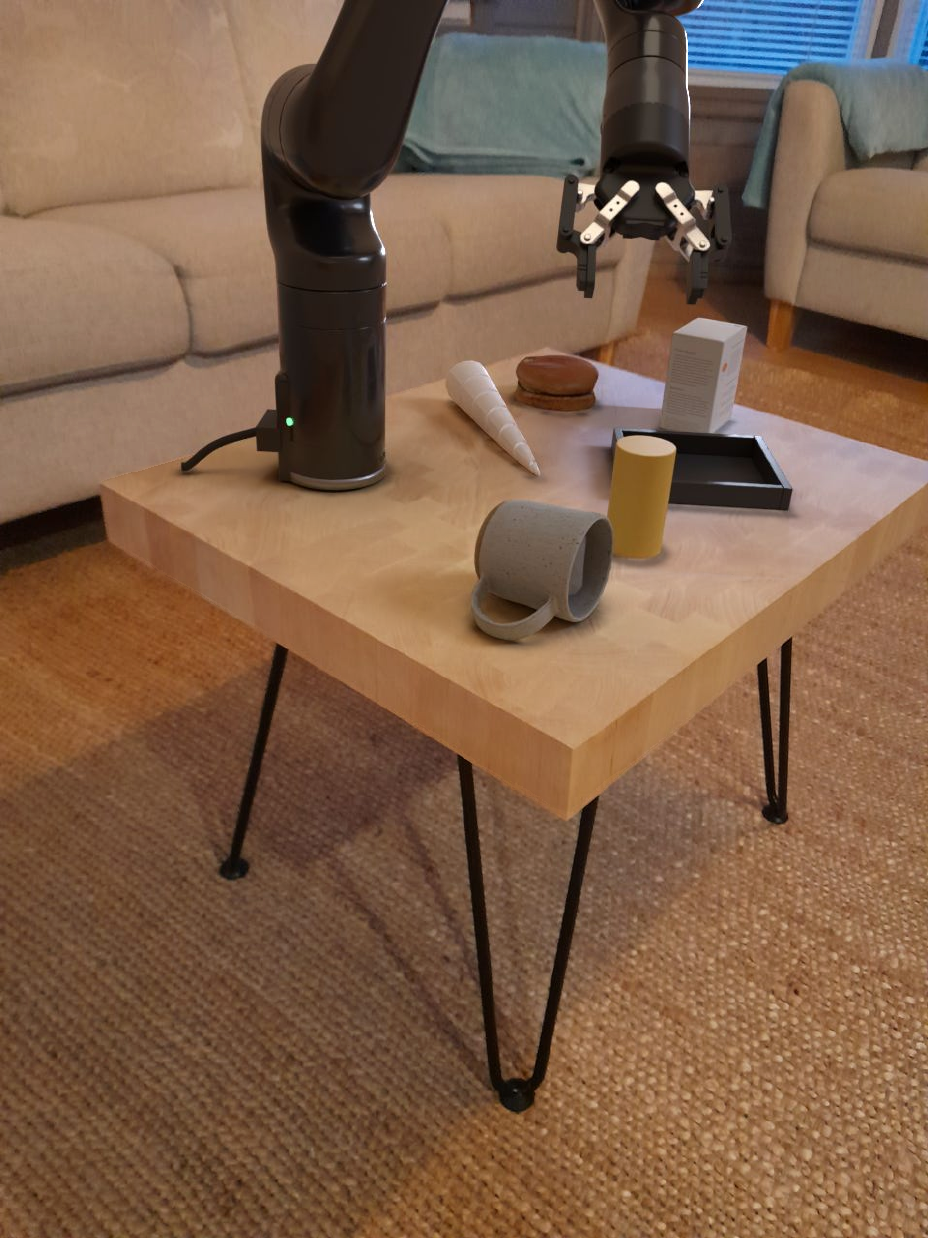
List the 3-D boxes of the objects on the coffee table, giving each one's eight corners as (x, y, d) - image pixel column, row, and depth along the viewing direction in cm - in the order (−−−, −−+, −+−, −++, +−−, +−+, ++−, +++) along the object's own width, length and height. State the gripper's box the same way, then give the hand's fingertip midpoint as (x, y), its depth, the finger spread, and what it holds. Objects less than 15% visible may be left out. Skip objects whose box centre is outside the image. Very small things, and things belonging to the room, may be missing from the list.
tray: (622, 505, 92) (625, 479, 91) (610, 451, 104) (613, 427, 103) (787, 515, 92) (793, 488, 91) (756, 459, 104) (761, 435, 103)
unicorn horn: (499, 482, 96) (502, 432, 93) (443, 401, 116) (445, 358, 113) (548, 480, 97) (553, 430, 94) (484, 400, 117) (487, 358, 114)
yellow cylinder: (605, 561, 83) (618, 454, 78) (601, 537, 87) (613, 433, 82) (663, 565, 82) (680, 457, 78) (656, 540, 86) (672, 436, 82)
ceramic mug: (513, 567, 81) (519, 474, 77) (610, 596, 77) (622, 501, 73) (441, 625, 73) (444, 525, 69) (546, 661, 69) (554, 558, 65)
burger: (599, 417, 113) (603, 374, 111) (513, 412, 113) (516, 370, 111) (593, 389, 122) (597, 350, 120) (514, 385, 122) (516, 345, 120)
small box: (683, 411, 116) (697, 316, 111) (731, 421, 114) (748, 324, 109) (656, 431, 110) (670, 330, 105) (707, 442, 108) (724, 340, 103)
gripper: (566, 93, 86) (558, 264, 82) (739, 103, 86) (740, 274, 82) (558, 156, 94) (551, 316, 89) (717, 165, 93) (717, 326, 89)
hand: (641, 296), depth 86 cm, fingers open, 8 cm apart
